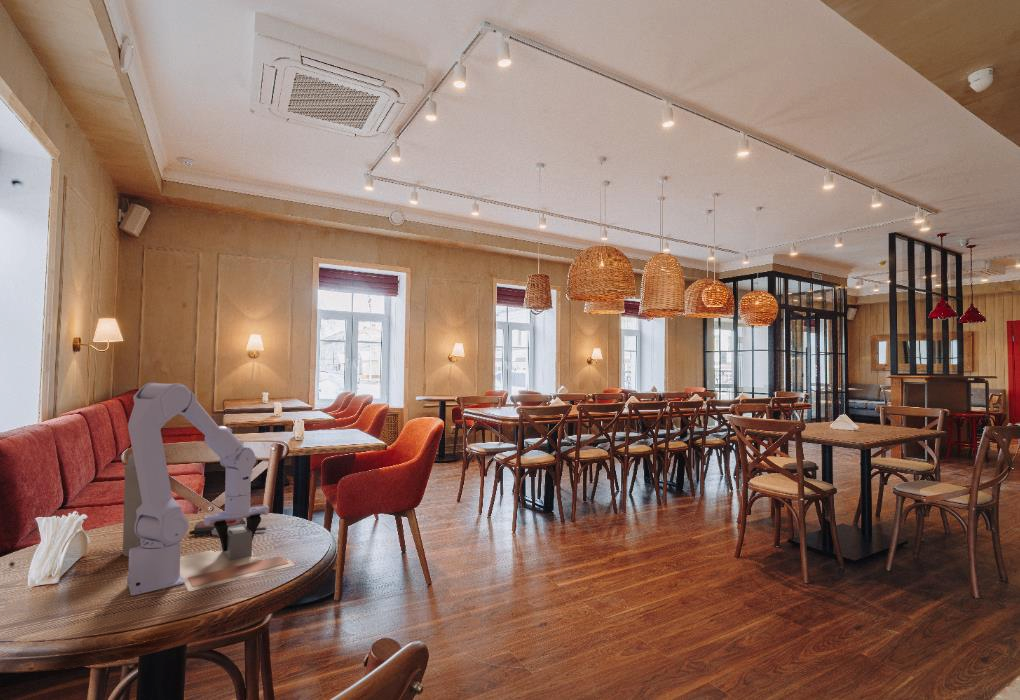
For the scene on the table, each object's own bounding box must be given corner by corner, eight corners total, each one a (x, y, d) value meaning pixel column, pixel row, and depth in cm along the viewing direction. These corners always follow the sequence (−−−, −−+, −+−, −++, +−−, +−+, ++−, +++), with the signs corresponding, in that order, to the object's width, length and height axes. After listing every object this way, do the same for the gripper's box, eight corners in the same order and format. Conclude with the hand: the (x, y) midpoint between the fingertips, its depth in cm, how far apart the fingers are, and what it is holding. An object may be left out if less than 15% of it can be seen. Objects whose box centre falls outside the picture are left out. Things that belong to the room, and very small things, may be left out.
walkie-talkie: (185, 540, 139) (265, 534, 144) (186, 524, 139) (265, 519, 144) (196, 530, 148) (271, 525, 153) (197, 515, 148) (271, 510, 153)
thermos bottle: (127, 548, 132) (129, 440, 133) (163, 543, 136) (165, 438, 137) (118, 558, 125) (121, 445, 126) (157, 553, 129) (160, 443, 129)
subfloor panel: (188, 592, 107) (188, 591, 107) (171, 558, 126) (171, 557, 126) (295, 565, 122) (295, 564, 122) (266, 538, 140) (266, 538, 140)
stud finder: (229, 560, 124) (230, 535, 124) (222, 551, 130) (222, 527, 130) (251, 555, 127) (252, 531, 128) (243, 546, 133) (243, 523, 134)
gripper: (263, 486, 137) (263, 537, 137) (202, 495, 127) (200, 550, 127) (271, 491, 132) (270, 544, 131) (207, 501, 122) (206, 558, 122)
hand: (236, 547), depth 129 cm, fingers closed on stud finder, 5 cm apart
